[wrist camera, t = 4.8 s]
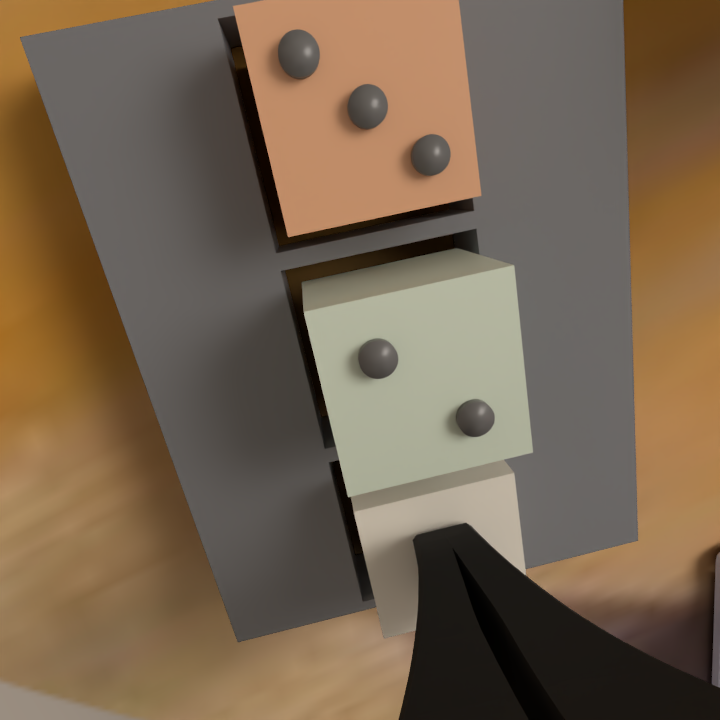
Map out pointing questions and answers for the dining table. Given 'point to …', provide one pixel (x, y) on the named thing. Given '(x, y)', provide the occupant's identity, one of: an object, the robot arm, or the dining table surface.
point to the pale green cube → (420, 366)
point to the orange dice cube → (361, 106)
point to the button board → (269, 260)
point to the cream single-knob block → (428, 513)
